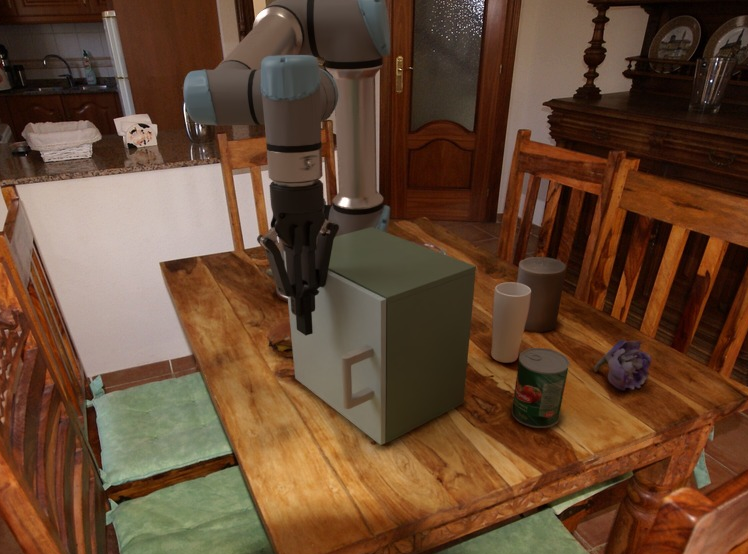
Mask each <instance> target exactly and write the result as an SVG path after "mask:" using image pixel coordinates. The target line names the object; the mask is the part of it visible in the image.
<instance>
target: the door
mask: <svg viewBox="0 0 748 554" xmlns="http://www.w3.org/2000/svg"><path fill="white" fill-rule="evenodd" d="M284 261H285V268H286V271H287V267H286V254H285V251H284ZM317 290H318V291H319V293H318V295H316V296H315V311H313V312H312V330H313V334H310V335H307V336H306V335H304V334H303V333H301V332H300V331H298V330H297V325H296V315H294V314H293V313H292V311H291V299H290V297H288V302H287V304H288V305H287V306H288V316H289V321H290V327H291V338H292V349H293V357H292V360H293V369H294V370H293V371H294V379H295V380H296V381H298V382H299V383H300V384H302V385H303V386H304V387H305V388H307V389H308V390H309V391H310V392H312V393H313V394H314V395H316V396H317V397H318V398H319V399H321V400H322V401H323V402H324V403H326V404H327V405H328V406H330V407H331V408H332V409H333V410H334V411H336V412H337V413H339V414H340V415H341V416H342V417H344V418H345V419H346V420H348V421H349V422H350V423H351V424H353V425H354V426H355V427H357V428H358V429H359V430H360V431H361V432H363V433H364V434H365V435H367V436H368V437H369V438H370V439H372V440H373V441H375V442H376V443H377V444H378V445H379V446H383V445H385V444H386V442H385V424H386V299H385V298H383V297H381V296H379V295H377V294H375V293H373V292H371V291H369V290H367V289H365V288H363V287H361V286H359V285H357V284H355V283H353V282H351V281H349V280H347V279H345V278H343V277H341V276H339V275H337V274H335V273H333V272H331V271H329V270H328V274H327V279H326V284H325V286H324V287H320V288H318V289H317Z"/></svg>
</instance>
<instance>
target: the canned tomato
mask: <svg viewBox="0 0 748 554" xmlns="http://www.w3.org/2000/svg"><path fill="white" fill-rule="evenodd" d="M569 367H570V361H569V358H568V357H567V356H566V355H564V354H563V353H561V352H559V351H556V350H554V349H551V348H546V347H545V348H544V347H533V348H532V347H531V348H528V349H525V350H523V351H521V353H519V356H518V364H517V370H516V377H515V378H516V379H515V380H516V381H515V385H514V392H513V399H512V408H511V414H512V417H513V418H514V419H515V420H516V422H518V423H520V424H521V425H523V426H527V427H530V428H534V429H547V428H551V427H553V426H555V425H556V424H557V423H558V422H559V420H560V414H561V411H562V410H561V409H562V403H563V399H564V392H565V389H566V382H567V379H568V371H569Z"/></svg>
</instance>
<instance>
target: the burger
mask: <svg viewBox="0 0 748 554" xmlns="http://www.w3.org/2000/svg"><path fill="white" fill-rule="evenodd" d="M266 339H267V341H268V347H270V348H271V350H272V352H274V353H275V354H277V355H283V356H284V357H286V358H293V349H292V338H291V327H290V320H289V321H283V322H280V323H278V324H276V325H274V326H273V327H271V329H269V331H268V333H267V336H266Z"/></svg>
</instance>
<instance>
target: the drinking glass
mask: <svg viewBox="0 0 748 554" xmlns="http://www.w3.org/2000/svg"><path fill="white" fill-rule="evenodd" d="M492 299H493V300H492V315H491V316H492V320H491V321H492V325H491V326H492V327H491V351H490V356H491V357H492V359H494V360H495V361H496V362H499V363H502V364H504V363H505V364H509V363H514V362H516V361H517V360H518V359H519V356H520V349H521V345H522V340H523V336H524V332H525V330H524V328H525V324H526V320H527V316H528V312H529V306H530V299H531V289H530V288H529V287H528V286H526V285H524V284H521V283H517V282H515V281H507V282H502V283H498V284H497V285H496V286H495V287H494V293H493V298H492Z"/></svg>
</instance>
